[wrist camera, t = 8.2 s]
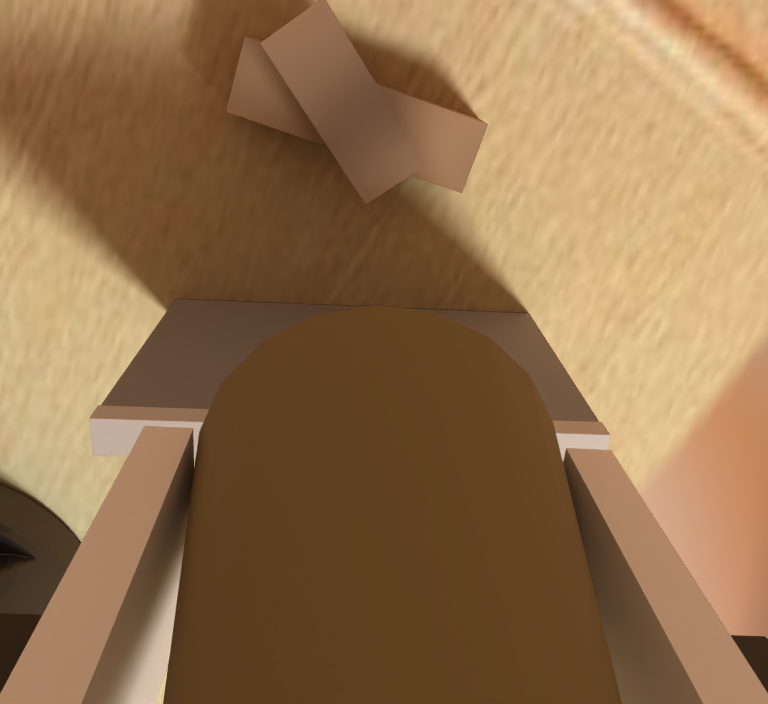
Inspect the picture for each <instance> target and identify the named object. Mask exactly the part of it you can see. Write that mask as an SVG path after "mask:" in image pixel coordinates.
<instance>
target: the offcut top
mask: <svg viewBox="0 0 768 704" xmlns="http://www.w3.org/2000/svg"><path fill="white" fill-rule="evenodd" d="M260 44H261V45H262V47H263V48H264V50H265V51H266V53H267V54H268V56H269V57H270V59H271V61H272V62H273V64H274V65H275V67H276V68H277V70H278V71H279V73H280V74H281V76H282V77H283V79H284V81H285V82H286V84H287V85H288V87H289V88H290V90H291V91H292V93H293V94H294V96H295V97H296V99H297V100H298V102H299V104H300V105H301V107H302V108H303V110H304V111H305V113H306V114H307V116H308V117H309V119H310V120H311V122H312V123H313V125H314V127H315V128H316V130H317V131H318V133H319V134H320V136H321V137H322V139H323V140H324V142H325V143H326V145H327V147H328V148H329V150H330V151H331V153H332V154H333V156H334V157H335V159H336V160H337V162H338V163H339V165H340V166H341V168H342V170H343V171H344V173H345V174H346V176H347V177H348V179H349V180H350V182H351V183H352V185H353V186H354V188H355V189H356V191H357V193H358V194H359V196H360V197H361V199H362V200H363V202H364V203H365V205H366V204H368V203H369V202H371V201H372V200H374V199H375V198H377V197H378V196H380V195H381V194H383V193H384V192H386V191H388V190H389V189H391V188H392V187H394V186H395V185H397V184H398V183H400V182H401V181H403V180H404V179H406V178H408V177H409V176H411V175H412V174H414V173H415V172H417V171H418V170H420V169H421V168H423V167H424V166H426V165H425V164H424V162H423V160H422V159H421V157H420V155H419V154H418V152H417V150H416V149H415V147H414V145H413V144H412V142H411V140H410V139H409V137H408V135H407V134H406V132H405V130H404V129H403V127H402V125H401V124H400V122H399V120H398V119H397V117H396V116H395V114H394V112H393V111H392V109H391V107H390V106H389V104H388V102H387V101H386V99H385V97H384V96H383V94H382V92H381V91H380V89H379V87H378V86H377V84H376V82H375V81H374V79H373V77H372V76H371V74H370V72H369V71H368V69H367V67H366V66H365V64H364V63H363V61H362V59H361V58H360V56H359V54H358V53H357V51H356V49H355V48H354V46H353V44H352V43H351V41H350V39H349V38H348V36H347V34H346V33H345V31H344V29H343V28H342V26H341V24H340V23H339V21H338V19H337V18H336V16H335V14H334V13H333V11H332V10H331V8H330V6H329V5H328V3H327V1H326V0H319V1H318V2H316V3H315V4H314V5H312V6H311V7H309V8H308V9H307V10H305V11H304V12H303V13H301V14H300V15H298V16H297V17H296V18H294V19H293V20H291V21H290V22H289V23H287V24H286V25H284V26H283V27H282V28H280V29H279V30H277V31H276V32H275V33H273V34H272V35H271V36H269V37H268V38H266V39H265V40H264V41H262V42H261V43H260Z"/></svg>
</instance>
